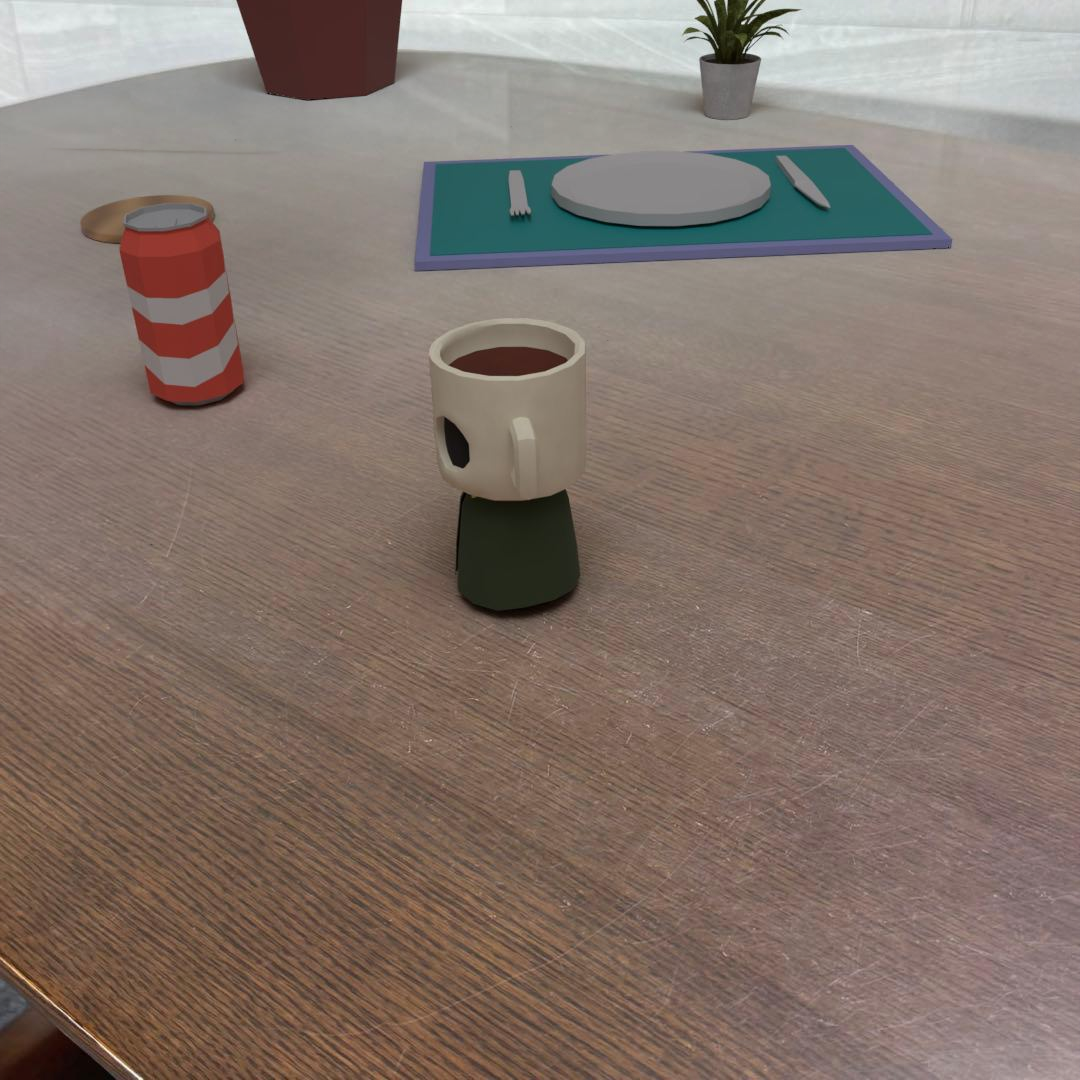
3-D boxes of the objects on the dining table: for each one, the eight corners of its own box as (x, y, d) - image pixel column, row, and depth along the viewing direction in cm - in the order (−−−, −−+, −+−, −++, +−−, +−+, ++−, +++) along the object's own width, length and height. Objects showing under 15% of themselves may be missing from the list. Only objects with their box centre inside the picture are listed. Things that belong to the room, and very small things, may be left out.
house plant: (697, 137, 133) (705, -24, 124) (638, 111, 144) (641, -39, 135) (805, 121, 138) (820, -35, 129) (740, 97, 148) (750, -49, 140)
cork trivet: (76, 249, 106) (74, 240, 106) (87, 209, 116) (86, 201, 116) (214, 236, 108) (213, 227, 108) (214, 198, 118) (213, 190, 118)
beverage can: (151, 417, 78) (111, 235, 71) (154, 377, 83) (117, 204, 77) (246, 405, 79) (215, 225, 72) (244, 366, 84) (214, 195, 78)
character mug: (438, 535, 65) (418, 308, 58) (567, 522, 66) (564, 296, 59) (458, 659, 56) (438, 407, 49) (609, 641, 57) (610, 391, 50)
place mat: (415, 271, 100) (413, 244, 98) (424, 169, 125) (422, 147, 124) (951, 247, 101) (955, 221, 100) (851, 152, 127) (854, 129, 125)
